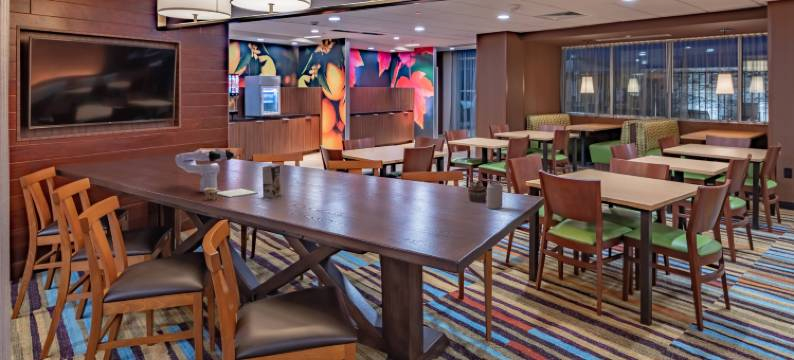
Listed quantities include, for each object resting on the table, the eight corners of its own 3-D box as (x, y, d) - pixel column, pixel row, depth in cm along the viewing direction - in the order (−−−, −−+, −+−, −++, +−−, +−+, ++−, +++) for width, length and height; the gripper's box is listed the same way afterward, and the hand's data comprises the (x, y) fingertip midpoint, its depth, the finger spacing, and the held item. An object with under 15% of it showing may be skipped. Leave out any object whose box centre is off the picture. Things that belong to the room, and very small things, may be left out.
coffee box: (274, 197, 294) (273, 167, 291) (262, 197, 295) (261, 167, 292) (281, 194, 302) (280, 165, 300) (270, 194, 304) (269, 164, 301)
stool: (204, 200, 287) (203, 189, 286) (207, 198, 292) (207, 187, 291) (215, 200, 287) (214, 189, 286) (218, 198, 292) (217, 187, 291)
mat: (213, 193, 305) (213, 192, 305) (241, 189, 318) (241, 188, 317) (229, 197, 294) (229, 196, 294) (257, 193, 306) (257, 192, 306)
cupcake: (475, 203, 280) (475, 183, 279) (464, 200, 289) (464, 180, 287) (490, 201, 285) (491, 182, 283) (479, 198, 293) (480, 179, 292)
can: (490, 205, 275) (491, 181, 273) (504, 207, 270) (505, 183, 268) (483, 208, 268) (484, 183, 267) (498, 210, 264) (498, 185, 262)
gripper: (200, 149, 299) (213, 149, 290) (225, 147, 309) (238, 147, 300) (201, 162, 300) (214, 162, 290) (226, 159, 310) (239, 160, 301)
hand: (226, 155), depth 295 cm, fingers open, 7 cm apart
